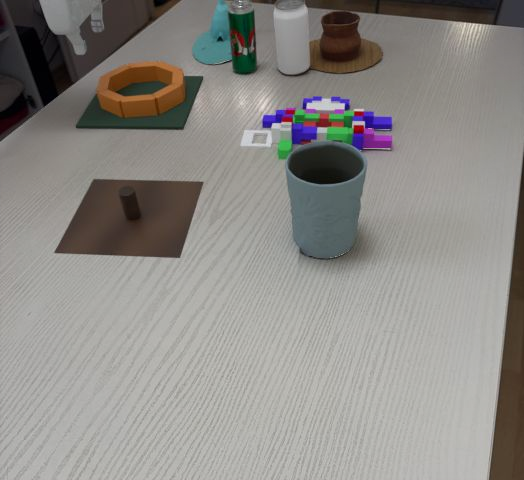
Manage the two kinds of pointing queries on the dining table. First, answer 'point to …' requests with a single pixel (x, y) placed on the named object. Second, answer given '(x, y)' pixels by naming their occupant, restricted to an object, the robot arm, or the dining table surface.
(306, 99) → the building block set
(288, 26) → the can
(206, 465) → the dining table surface
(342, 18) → the ceramic pot
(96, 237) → the ring toss
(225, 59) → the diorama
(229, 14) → the soda can
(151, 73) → the ring
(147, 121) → the mat
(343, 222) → the grey blue cup
